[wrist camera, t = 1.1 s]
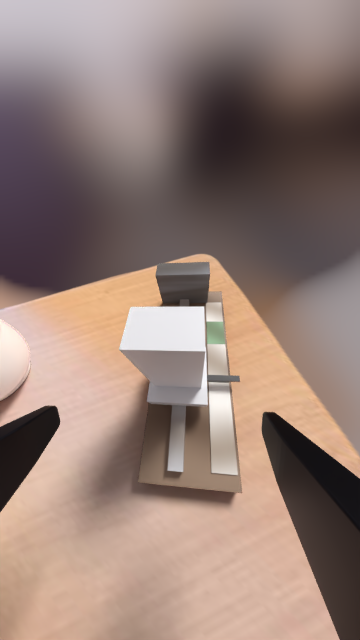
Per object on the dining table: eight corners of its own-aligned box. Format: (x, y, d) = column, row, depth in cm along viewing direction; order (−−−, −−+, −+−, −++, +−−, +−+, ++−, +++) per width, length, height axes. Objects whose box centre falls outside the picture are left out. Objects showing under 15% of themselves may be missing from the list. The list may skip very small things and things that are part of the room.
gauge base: (238, 487, 14) (265, 526, 8) (142, 477, 15) (110, 507, 9) (220, 298, 24) (226, 261, 19) (166, 299, 25) (157, 263, 20)
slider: (242, 409, 15) (301, 384, 6) (151, 403, 15) (100, 376, 7) (235, 354, 17) (270, 287, 9) (158, 352, 18) (126, 290, 10)
